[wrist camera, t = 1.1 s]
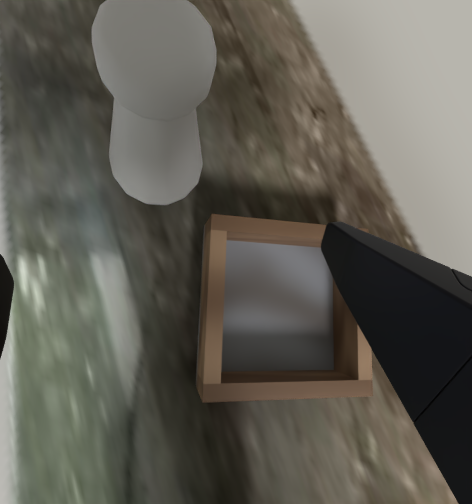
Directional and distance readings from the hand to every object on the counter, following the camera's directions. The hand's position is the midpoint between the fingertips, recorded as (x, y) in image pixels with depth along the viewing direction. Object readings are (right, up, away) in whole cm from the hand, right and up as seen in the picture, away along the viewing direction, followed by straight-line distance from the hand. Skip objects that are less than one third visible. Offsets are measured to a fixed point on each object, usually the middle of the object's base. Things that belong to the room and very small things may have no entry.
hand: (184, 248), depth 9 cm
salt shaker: (-4, +5, +14) cm, 16 cm away
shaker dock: (+4, -4, +14) cm, 16 cm away
